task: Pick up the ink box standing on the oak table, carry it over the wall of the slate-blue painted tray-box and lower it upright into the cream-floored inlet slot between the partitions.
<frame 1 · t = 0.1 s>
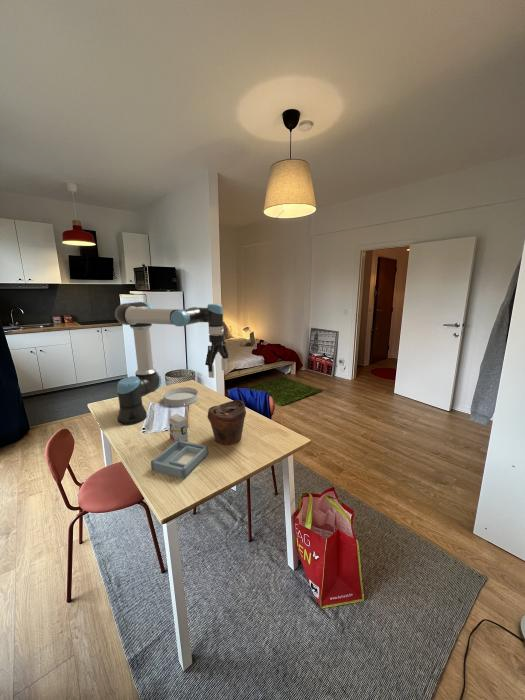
hand: (218, 373, 153), 28 cm above the table, fingers open, 13 cm apart
brown pot: (227, 438, 142), on the table
dish: (181, 400, 190), on the table
ink box: (179, 440, 141), on the table
walled box: (181, 461, 123), on the table
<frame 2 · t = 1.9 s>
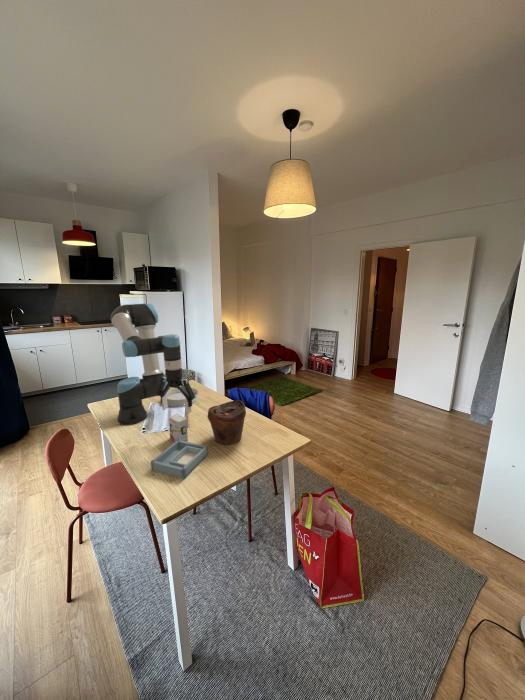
hand: (177, 410, 138), 15 cm above the table, fingers open, 13 cm apart
nothing on the table moved.
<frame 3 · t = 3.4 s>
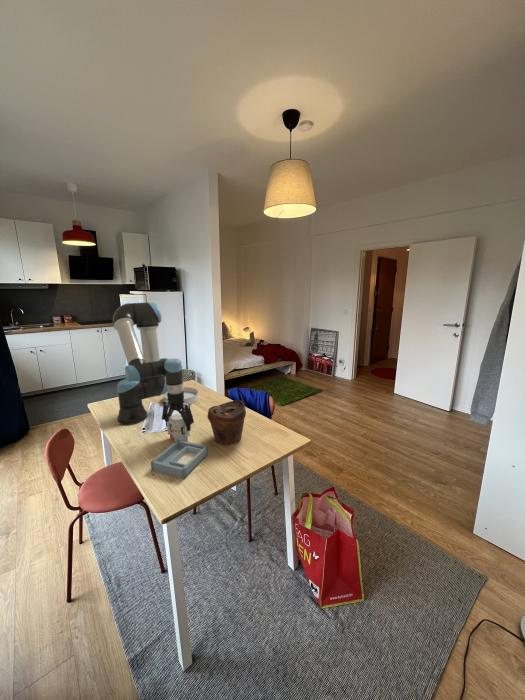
hand: (178, 434, 141), 3 cm above the table, fingers closed on ink box, 9 cm apart
ink box: (179, 439, 141), on the table, touching gripper
everything else where it was.
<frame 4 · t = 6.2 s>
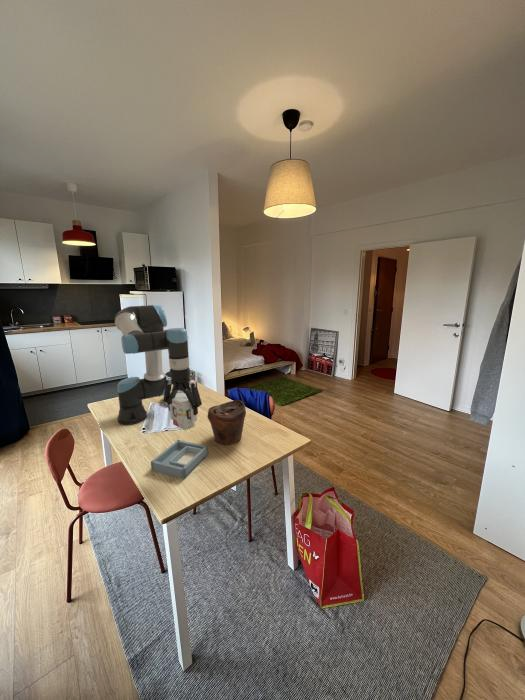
hand: (183, 419, 118), 20 cm above the table, fingers closed on ink box, 9 cm apart
ink box: (184, 426, 119), point 17 cm above the table, touching gripper
everything else where it was.
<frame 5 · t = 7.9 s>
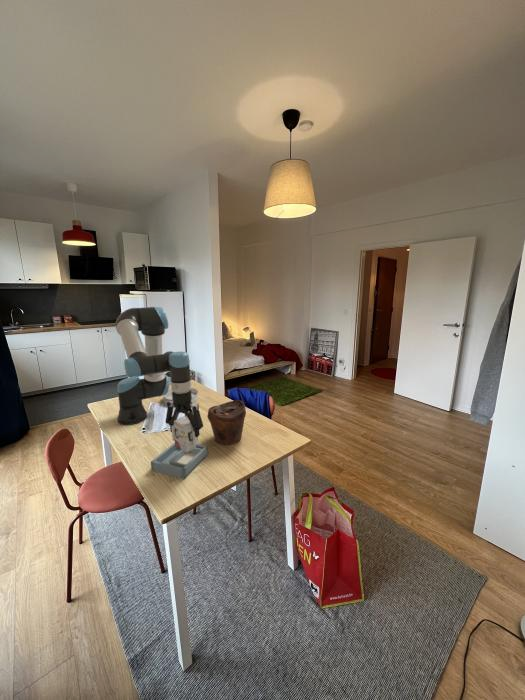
hand: (185, 441, 120), 11 cm above the table, fingers closed on ink box, 9 cm apart
ink box: (185, 447, 121), point 8 cm above the table, touching gripper
everything else where it was.
when the fingers open (7 cm above the table, at t = 9.3 s): ink box stays where it is, resting on walled box.
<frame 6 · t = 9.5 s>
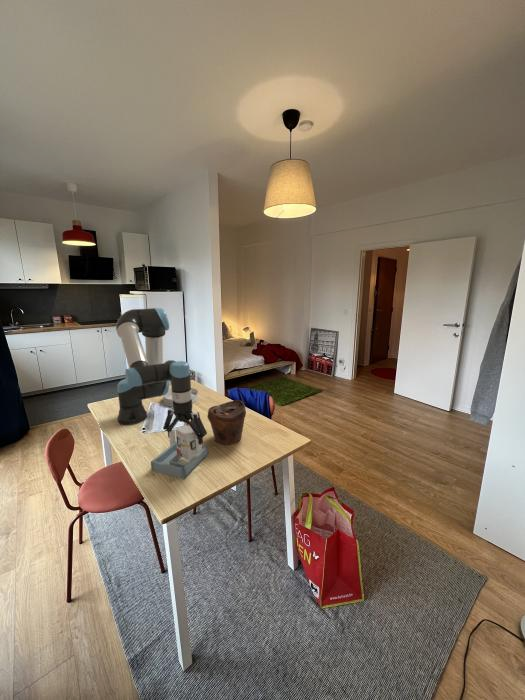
hand: (185, 447, 121), 8 cm above the table, fingers open, 12 cm apart
ink box: (187, 455, 121), point 4 cm above the table, touching walled box
everything else where it was.
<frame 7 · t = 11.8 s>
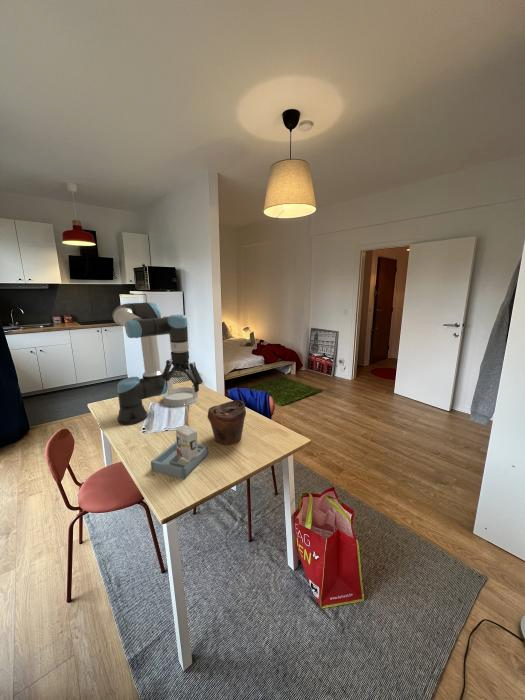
hand: (182, 395, 131), 25 cm above the table, fingers open, 13 cm apart
nothing on the table moved.
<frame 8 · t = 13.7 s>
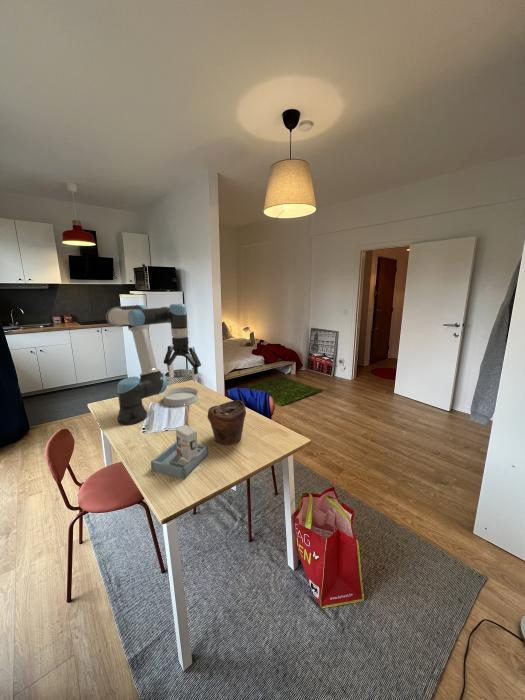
hand: (183, 378, 142), 29 cm above the table, fingers open, 13 cm apart
nothing on the table moved.
at the end: ink box inside the target area on the walled box (0.6 cm from its centre), point 3.8 cm above the walled box's base; ink box tilted 0°; the gripper is holding nothing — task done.
